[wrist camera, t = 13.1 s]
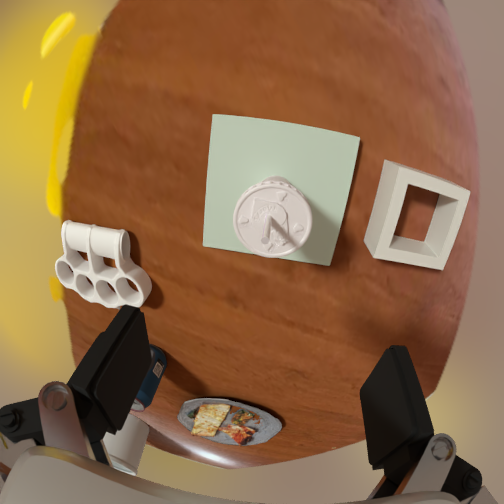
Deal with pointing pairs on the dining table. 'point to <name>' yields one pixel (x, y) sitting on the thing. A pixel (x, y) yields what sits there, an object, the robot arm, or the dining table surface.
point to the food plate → (227, 422)
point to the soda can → (150, 380)
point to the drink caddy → (389, 210)
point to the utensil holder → (127, 445)
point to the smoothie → (272, 218)
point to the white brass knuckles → (101, 265)
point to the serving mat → (281, 164)
